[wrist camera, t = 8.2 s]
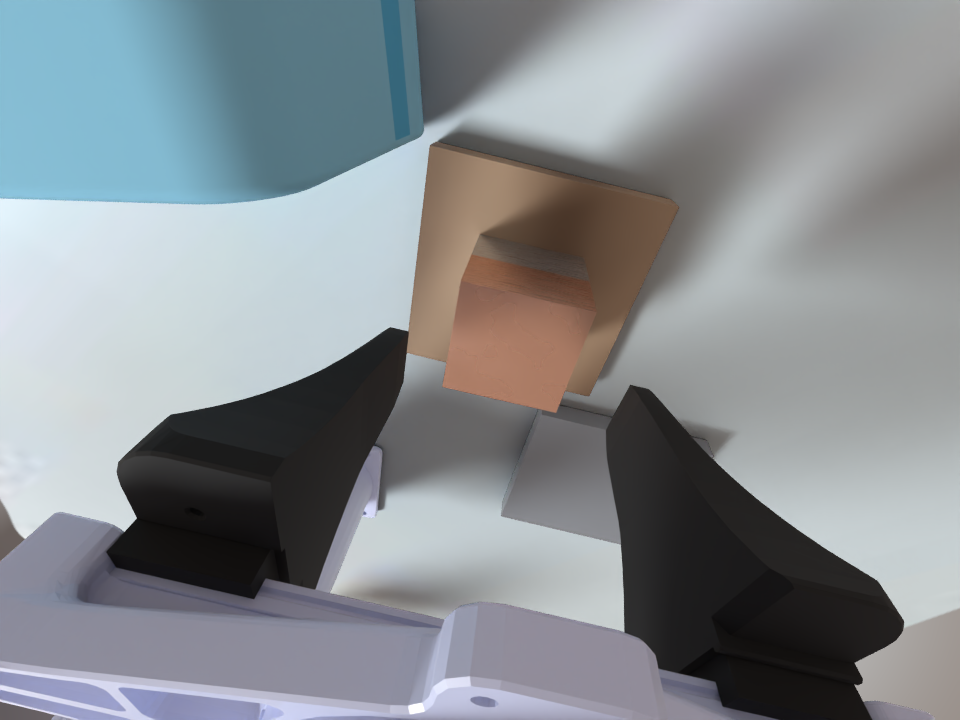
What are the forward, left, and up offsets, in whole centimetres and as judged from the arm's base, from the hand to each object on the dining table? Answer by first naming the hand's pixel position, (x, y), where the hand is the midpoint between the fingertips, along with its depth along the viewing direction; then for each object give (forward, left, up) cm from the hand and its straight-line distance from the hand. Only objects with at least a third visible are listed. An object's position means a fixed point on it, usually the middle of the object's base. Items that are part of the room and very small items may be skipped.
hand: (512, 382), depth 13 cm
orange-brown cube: (0, 0, -7) cm, 7 cm away
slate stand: (+8, -12, -8) cm, 16 cm away
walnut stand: (0, 0, -8) cm, 8 cm away
